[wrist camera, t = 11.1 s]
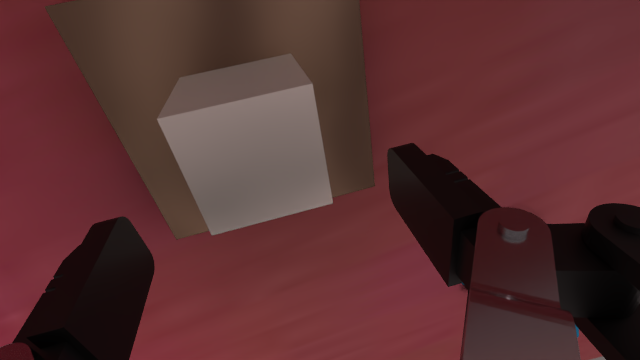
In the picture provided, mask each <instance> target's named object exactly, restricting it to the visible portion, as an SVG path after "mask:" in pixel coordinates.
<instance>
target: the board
mask: <svg viewBox="0 0 640 360" xmlns="http://www.w3.org/2000/svg"><path fill="white" fill-rule="evenodd" d="M45 9H46V10H47V12H48V14H49V16H50V17H51V19H52V21H53V23H54V24H55V26H56V28H57V30H58V32H59V33H60V35H61V37H62V39H63V40H64V42H65V44H66V46H67V47H68V49H69V51H70V53H71V54H72V56H73V58H74V60H75V61H76V63H77V65H78V67H79V69H80V70H81V72H82V74H83V76H84V77H85V79H86V81H87V83H88V84H89V86H90V88H91V90H92V91H93V93H94V95H95V97H96V99H97V100H98V102H99V104H100V106H101V107H102V109H103V111H104V113H105V114H106V116H107V118H108V120H109V121H110V123H111V125H112V127H113V128H114V130H115V132H116V134H117V136H118V137H119V139H120V141H121V143H122V144H123V146H124V148H125V150H126V151H127V153H128V155H129V157H130V158H131V160H132V162H133V164H134V165H135V167H136V169H137V171H138V173H139V174H140V176H141V178H142V180H143V181H144V183H145V185H146V187H147V188H148V190H149V192H150V194H151V195H152V197H153V199H154V201H155V203H156V204H157V206H158V208H159V210H160V211H161V213H162V215H163V217H164V218H165V220H166V222H167V224H168V225H169V227H170V229H171V231H172V232H173V234H174V236H175V238H176V240H177V239H180V238H184V237H188V236H191V235H195V234H199V233H203V232H206V231H209V229H208V226H207V224H206V222H205V220H204V218H203V216H202V214H201V212H200V210H199V207H198V205H197V203H196V201H195V199H194V197H193V195H192V193H191V190H190V188H189V186H188V184H187V182H186V180H185V178H184V176H183V173H182V171H181V169H180V167H179V165H178V163H177V161H176V159H175V156H174V154H173V152H172V150H171V148H170V146H169V144H168V142H167V139H166V137H165V135H164V133H163V131H162V129H161V127H160V125H159V123H158V120H157V118H158V116H159V114H160V112H161V111H162V109H163V107H164V105H165V103H166V102H167V100H168V98H169V96H170V94H171V92H172V91H173V89H174V87H175V85H176V83H177V81H178V80H179V78H180V77H185V76H189V75H194V74H198V73H203V72H207V71H212V70H217V69H221V68H226V67H230V66H235V65H240V64H244V63H249V62H253V61H258V60H263V59H267V58H272V57H276V56H281V55H286V54H290V53H291V54H292V56H293V57H294V59H295V60H296V61H297V63H298V64H299V66H300V67H301V68H302V70H303V71H304V72H305V74H306V75H307V77H308V78H309V79H310V81H311V82H312V84H313V89H314V95H315V101H316V107H317V113H318V118H319V124H320V130H321V136H322V142H323V147H324V153H325V159H326V165H327V171H328V176H329V182H330V188H331V194H332V198H333V197H336V196H340V195H344V194H348V193H351V192H355V191H359V190H362V189H366V188H370V187H374V186H375V183H374V171H373V159H372V147H371V135H370V123H369V111H368V100H367V88H366V76H365V64H364V52H363V40H362V28H361V16H360V4H359V0H76V1H71V2H66V3H60V4H55V5H50V6H45Z"/></svg>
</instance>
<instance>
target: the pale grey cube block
mask: <svg viewBox="0 0 640 360" xmlns="http://www.w3.org/2000/svg"><path fill="white" fill-rule="evenodd" d="M157 120H158V123H159V125H160V127H161V129H162V131H163V133H164V135H165V137H166V139H167V142H168V144H169V146H170V148H171V150H172V152H173V154H174V156H175V159H176V161H177V163H178V165H179V167H180V169H181V171H182V173H183V176H184V178H185V180H186V182H187V184H188V186H189V188H190V190H191V193H192V195H193V197H194V199H195V201H196V203H197V205H198V207H199V210H200V212H201V214H202V216H203V218H204V220H205V222H206V224H207V226H208V229H209V231H210V233H211V235H216V234H220V233H223V232H227V231H231V230H235V229H238V228H242V227H246V226H250V225H253V224H257V223H261V222H265V221H268V220H272V219H276V218H280V217H283V216H287V215H291V214H295V213H298V212H302V211H306V210H310V209H313V208H317V207H321V206H325V205H328V204H332V203H333V200H332V194H331V188H330V182H329V176H328V171H327V165H326V159H325V153H324V147H323V142H322V136H321V130H320V124H319V118H318V113H317V107H316V101H315V95H314V89H313V84H312V82H311V81H310V79H309V78H308V77H307V75H306V74H305V72H304V71H303V70H302V68H301V67H300V66H299V64H298V63H297V61H296V60H295V59H294V57H293V56H292V54H291V53H290V54H286V55H281V56H276V57H272V58H267V59H263V60H258V61H253V62H249V63H244V64H240V65H235V66H230V67H226V68H221V69H217V70H212V71H207V72H203V73H198V74H194V75H189V76H185V77H180V78H179V80H178V81H177V83H176V85H175V87H174V89H173V91H172V92H171V94H170V96H169V98H168V100H167V102H166V103H165V105H164V107H163V109H162V111H161V112H160V114H159V116H158V118H157Z"/></svg>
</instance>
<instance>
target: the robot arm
mask: <svg viewBox="0 0 640 360" xmlns="http://www.w3.org/2000/svg"><path fill="white" fill-rule="evenodd" d="M387 157H388V174H389V190H390V196H391V199H392V202H393V204H394V206H395V208H396V210H397V211H398V213H399V214H400V216H401V217H402V219H403V220H404V222H405V223H406V225H407V226H408V228H409V229H410V231H411V232H412V234H413V235H414V237H415V238H416V240H417V241H418V243H419V244H420V246H421V247H422V249H423V250H424V252H425V253H426V255H427V256H428V257H429V259H430V260H431V262H432V263H433V265H434V266H435V268H436V269H437V271H438V272H439V274H440V275H441V277H442V278H443V280H444V281H445V283H446V284H447V286H448V287H450V286H453V285H456V284H460V283H463V284H464V286H465V287H466V288H467V290H468V296H467V304H466V313H465V321H464V329H463V338H462V346H461V354H460V360H581V359H580V353H579V346H578V340H577V333H576V327H575V325H576V326H577V327H578V328H579V329H580V330H581V332H582V333H583V334H584V335H585V336H586V337H587V338H588V340H589V341H590V342H591V343H592V344H593V345H594V346H595V347H596V349H597V350H598V351H599V352H600V353H601V354H602V355H603V357H604V358H605V359H606V360H640V207H637V206H633V205H628V204H617V203H611V204H603V205H599V206H596V207H595V208H593V209H592V210H591V211H590V213H589V215H588V218H587V220H586V223H575V224H546V223H545V222H544V221H543V220H542V219H541V218H539V217H537V216H536V215H534V214H532V213H530V212H527V211H525V210H521V209H517V208H509V207H501V206H499V205H498V204H497V203H496V202H495V201H494V200H493V199H492V198H490V197H489V196H488V195H487V194H486V193H485V192H484V191H482V190H481V189H480V188H479V187H478V186H477V185H476V184H475V183H473V182H472V181H471V180H470V179H469V180H468V178H467V176H466V175H464V174H463V173H462V172H461V171H460V172H459V169H458V168H456V167H455V166H454V165H453V164H452V163H451V162H450V161H449V160H447V159H444V158H442V157H439V156H437V155H434V154H430V155H426V154H425V153H424V152H423V151H421V150H420V149H419V148H418V147H417V146H416V145H415V144H414V143H410V144H406V145H402V146H398V147H394V148H390V149H389V150H388V154H387ZM153 275H154V260H153V257H152V254H151V252H150V251H149V249H148V248H147V246H146V245H145V243H144V242H143V240H142V238H141V237H140V235H139V234H138V232H137V231H136V229H135V228H134V226H133V225H132V223H131V222H130V221H129V220H128V219H127V218H126V217H118V218H114V219H110V220H106V221H103V222H99V223H95V224H94V225H92V227H91V228H90V230H89V232H88V233H87V235H86V237H85V239H84V240H83V242H82V244H81V245H79V246H78V247H77V248H76V249H75V250H74V251H73V252H72V253H71V254H70V255H69V256H68V257H67V258H66V259H64V260H63V262H62V263H61V265H60V267H59V268H58V270H57V272H56V273H55V275H54V276H53V277H54V279H53V280H51V281H50V283H49V285H48V286H47V288H46V289H45V291H46V293H43V294H42V296H41V297H40V299H39V301H38V302H37V304H36V306H35V307H34V309H33V310H32V312H31V314H30V315H29V317H28V318H27V320H26V322H25V323H24V325H23V327H22V328H21V330H20V331H19V333H18V335H17V336H16V338H15V339H14V341H13V343H12V344H8V345H5V346H3V347H0V360H129V358H130V355H131V351H132V348H133V344H134V341H135V337H136V334H137V330H138V327H139V323H140V320H141V316H142V313H143V309H144V306H145V302H146V299H147V295H148V292H149V288H150V285H151V282H152V278H153Z"/></svg>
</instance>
